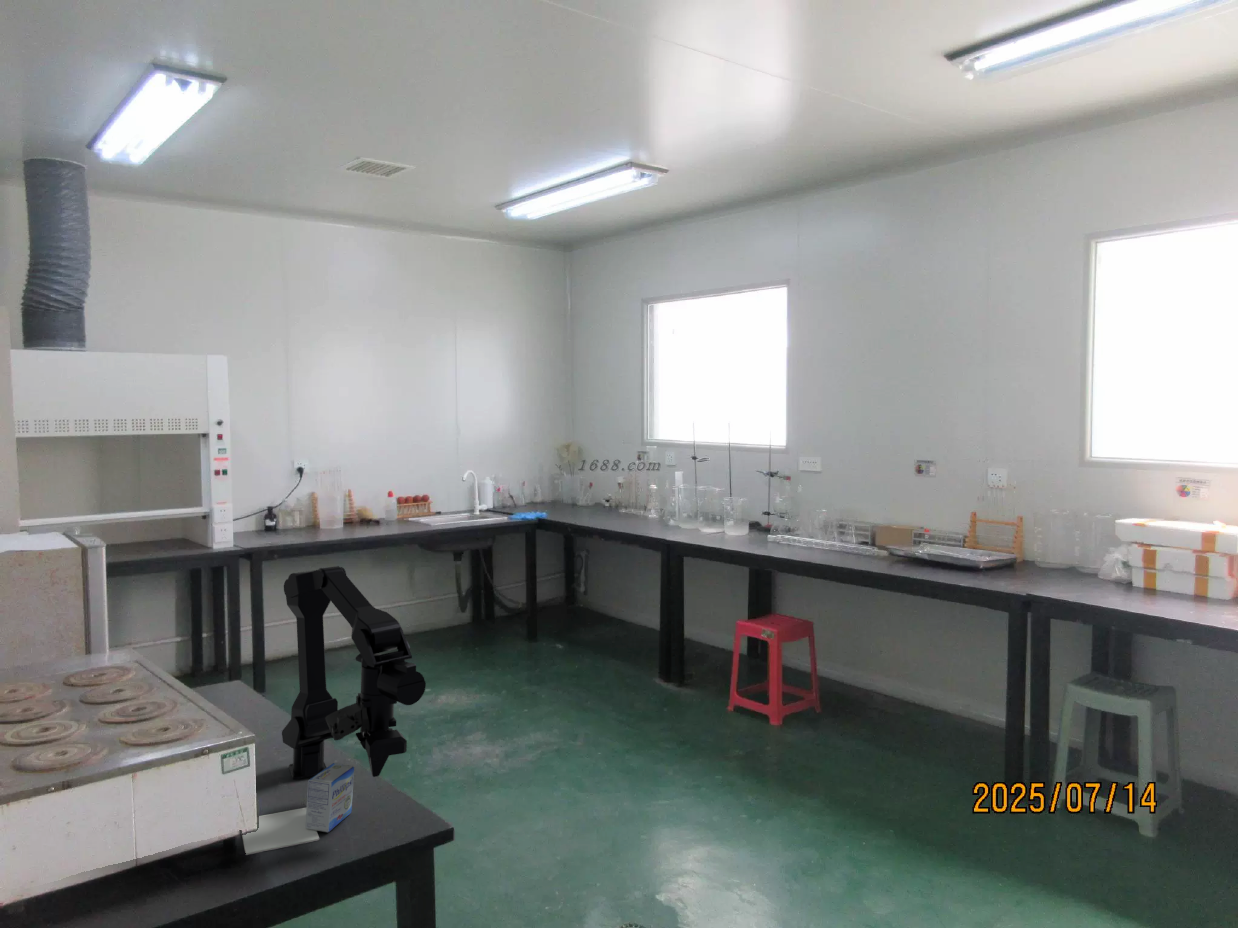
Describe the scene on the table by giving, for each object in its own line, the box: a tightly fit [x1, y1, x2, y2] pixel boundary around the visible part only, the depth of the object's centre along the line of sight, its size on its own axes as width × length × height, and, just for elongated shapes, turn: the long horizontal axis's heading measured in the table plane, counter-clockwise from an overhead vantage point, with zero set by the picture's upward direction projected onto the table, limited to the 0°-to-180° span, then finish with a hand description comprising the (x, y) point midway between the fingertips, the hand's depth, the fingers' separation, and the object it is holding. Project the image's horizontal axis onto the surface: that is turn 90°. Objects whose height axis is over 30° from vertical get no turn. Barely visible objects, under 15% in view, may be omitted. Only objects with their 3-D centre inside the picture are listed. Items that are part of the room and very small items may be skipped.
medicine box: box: [305, 762, 355, 833], centre depth 144 cm, size 8×4×9 cm, turn 169°
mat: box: [241, 807, 320, 856], centre depth 141 cm, size 12×11×1 cm
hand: (375, 775), depth 148 cm, fingers closed
